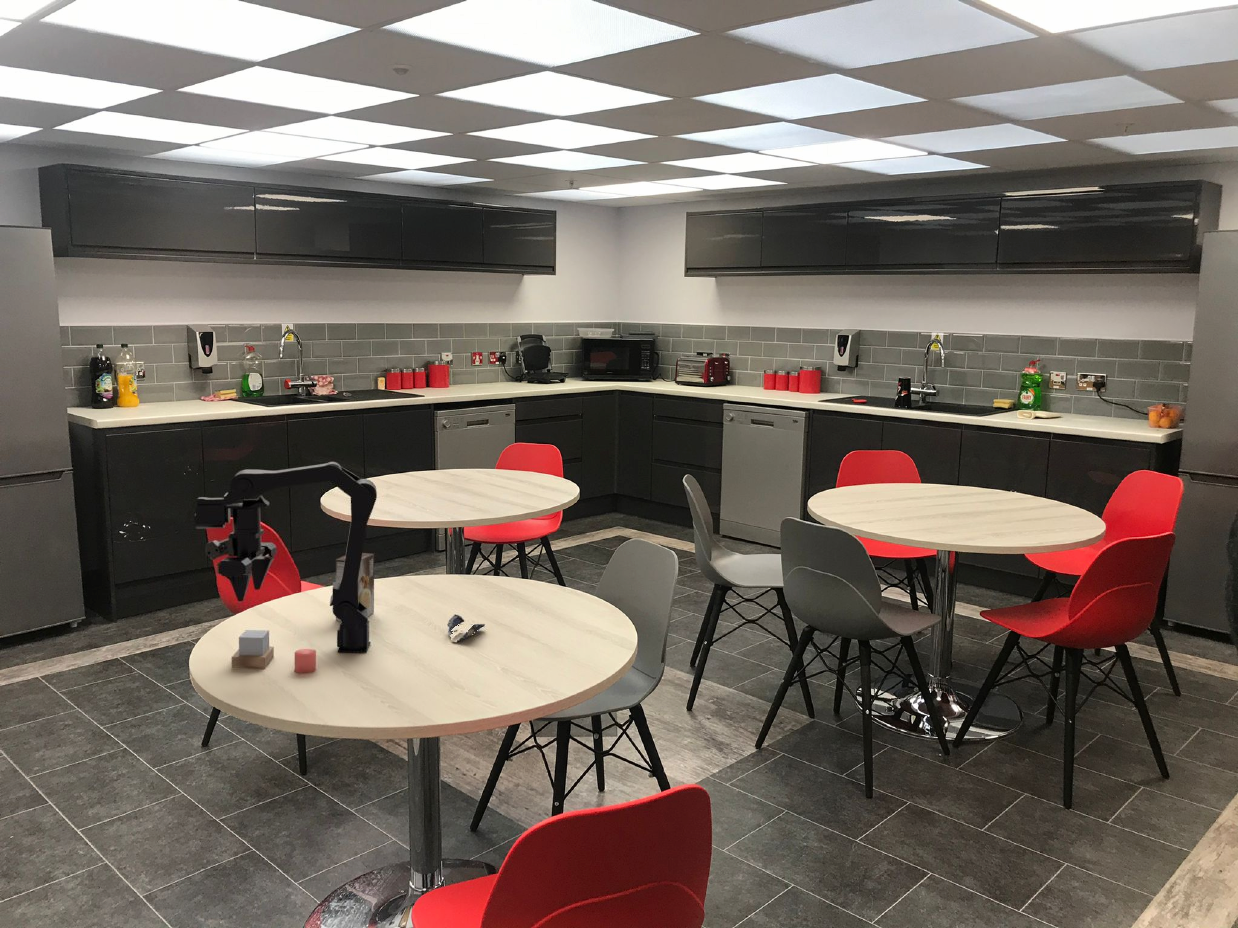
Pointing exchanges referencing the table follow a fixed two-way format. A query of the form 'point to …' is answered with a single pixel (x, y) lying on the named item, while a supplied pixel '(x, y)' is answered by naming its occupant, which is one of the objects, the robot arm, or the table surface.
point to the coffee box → (361, 580)
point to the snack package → (458, 620)
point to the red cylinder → (305, 661)
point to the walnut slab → (252, 660)
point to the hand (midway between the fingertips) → (249, 595)
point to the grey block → (254, 642)
